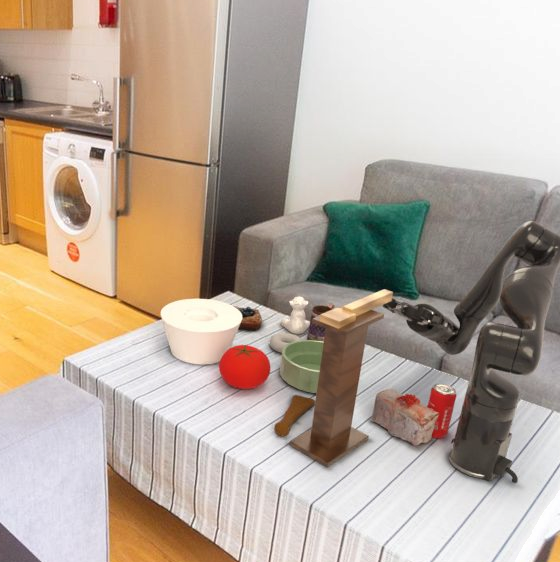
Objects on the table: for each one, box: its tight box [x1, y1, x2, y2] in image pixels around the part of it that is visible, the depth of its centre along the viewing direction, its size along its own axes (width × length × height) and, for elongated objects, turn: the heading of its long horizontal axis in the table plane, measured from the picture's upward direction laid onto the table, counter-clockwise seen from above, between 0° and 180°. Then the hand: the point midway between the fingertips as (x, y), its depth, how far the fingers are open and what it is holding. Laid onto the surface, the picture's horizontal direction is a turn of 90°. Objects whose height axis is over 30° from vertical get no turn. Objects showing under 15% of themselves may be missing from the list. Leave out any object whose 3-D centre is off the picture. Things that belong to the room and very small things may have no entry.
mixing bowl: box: [279, 339, 324, 394], centre depth 161 cm, size 19×19×7 cm
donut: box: [269, 332, 302, 354], centre depth 178 cm, size 10×4×10 cm
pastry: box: [232, 305, 263, 332], centre depth 194 cm, size 11×12×6 cm
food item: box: [371, 388, 439, 447], centre depth 137 cm, size 14×8×10 cm, turn 32°
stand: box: [289, 302, 385, 468], centre depth 130 cm, size 10×16×32 cm, turn 128°
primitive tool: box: [273, 394, 316, 437], centre depth 144 cm, size 19×6×4 cm, turn 150°
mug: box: [306, 302, 336, 342], centre depth 181 cm, size 10×7×12 cm
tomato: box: [218, 344, 271, 390], centre depth 158 cm, size 14×13×10 cm
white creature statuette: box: [280, 296, 310, 335], centre depth 189 cm, size 10×9×12 cm
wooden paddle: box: [320, 288, 394, 329], centre depth 125 cm, size 22×4×2 cm, turn 128°
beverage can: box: [427, 383, 457, 440], centre depth 137 cm, size 5×5×12 cm
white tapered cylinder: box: [160, 298, 242, 365], centre depth 175 cm, size 24×24×12 cm
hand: (404, 306), depth 138 cm, fingers open, 8 cm apart
